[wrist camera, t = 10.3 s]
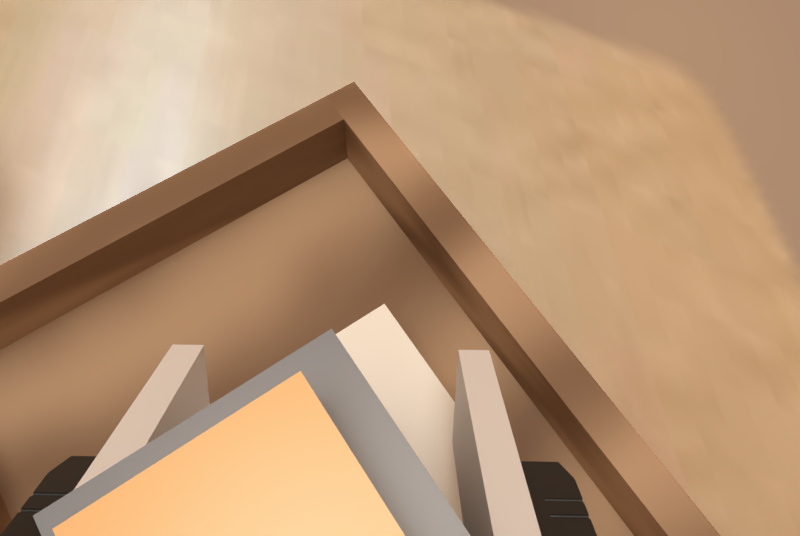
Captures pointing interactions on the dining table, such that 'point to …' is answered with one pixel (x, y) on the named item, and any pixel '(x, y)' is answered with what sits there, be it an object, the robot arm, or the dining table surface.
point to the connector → (269, 466)
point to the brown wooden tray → (298, 307)
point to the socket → (407, 393)
